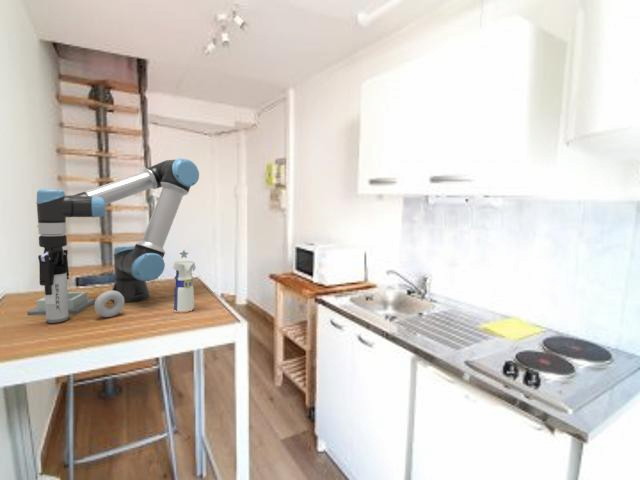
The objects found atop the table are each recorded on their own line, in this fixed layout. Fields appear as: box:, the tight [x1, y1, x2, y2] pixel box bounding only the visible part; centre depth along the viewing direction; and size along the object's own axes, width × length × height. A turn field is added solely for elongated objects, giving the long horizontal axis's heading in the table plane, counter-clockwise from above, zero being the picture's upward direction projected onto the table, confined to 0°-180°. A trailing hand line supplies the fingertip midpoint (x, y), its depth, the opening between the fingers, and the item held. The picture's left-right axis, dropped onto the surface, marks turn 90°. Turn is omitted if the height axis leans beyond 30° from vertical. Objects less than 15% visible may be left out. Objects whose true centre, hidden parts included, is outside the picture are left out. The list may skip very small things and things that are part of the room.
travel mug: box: [43, 264, 70, 324], centre depth 119 cm, size 6×7×20 cm
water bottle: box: [172, 249, 196, 311], centre depth 136 cm, size 8×8×25 cm
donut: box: [93, 289, 126, 318], centre depth 125 cm, size 10×3×10 cm, turn 143°
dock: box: [27, 291, 96, 316], centre depth 134 cm, size 16×16×5 cm
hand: (56, 300), depth 119 cm, fingers closed on travel mug, 6 cm apart
